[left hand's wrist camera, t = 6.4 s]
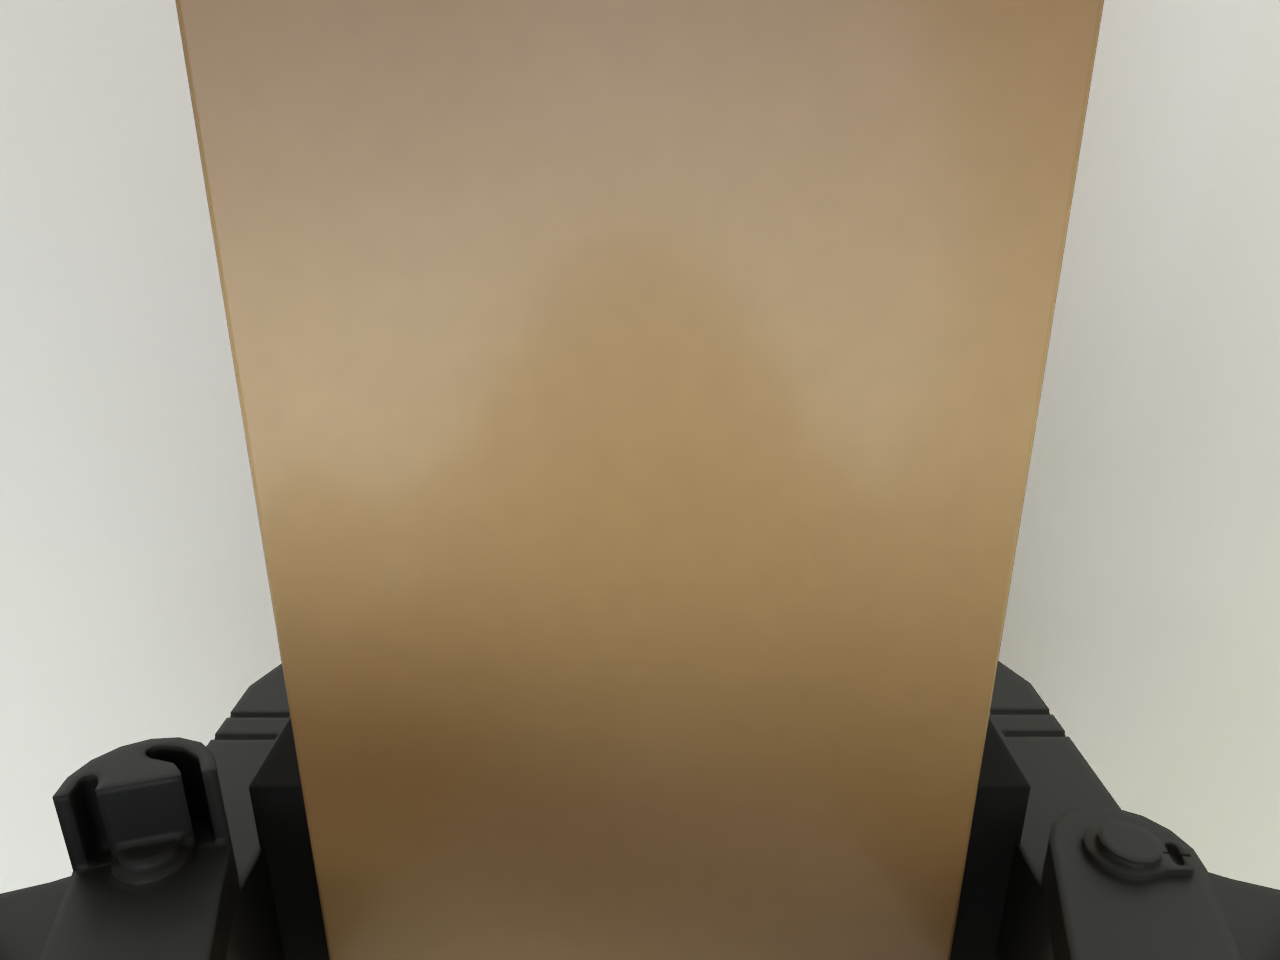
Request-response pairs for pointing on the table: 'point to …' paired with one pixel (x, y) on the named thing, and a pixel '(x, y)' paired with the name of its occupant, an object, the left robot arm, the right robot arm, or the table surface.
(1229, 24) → the table surface
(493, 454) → the beam
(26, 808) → the table surface
